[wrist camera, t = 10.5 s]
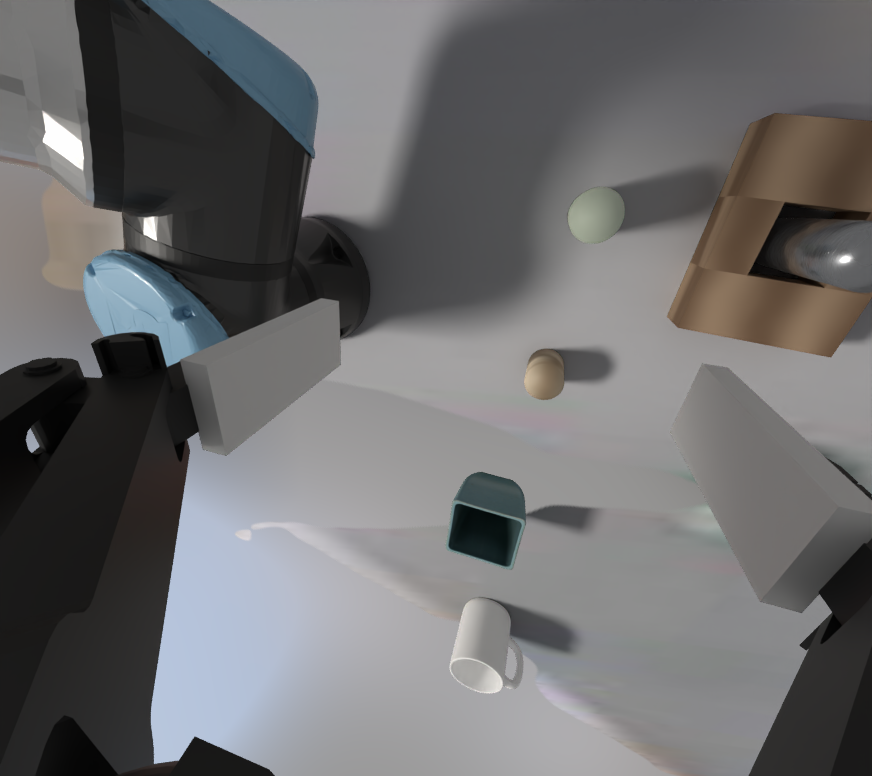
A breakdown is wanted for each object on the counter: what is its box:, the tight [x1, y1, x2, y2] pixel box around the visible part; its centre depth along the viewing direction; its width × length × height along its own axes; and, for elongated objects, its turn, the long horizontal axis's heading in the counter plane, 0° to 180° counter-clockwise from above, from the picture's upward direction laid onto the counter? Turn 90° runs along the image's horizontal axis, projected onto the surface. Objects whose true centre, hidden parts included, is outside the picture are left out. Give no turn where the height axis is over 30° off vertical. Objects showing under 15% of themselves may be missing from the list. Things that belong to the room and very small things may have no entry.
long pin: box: [755, 217, 872, 293], centre depth 27 cm, size 4×4×12 cm
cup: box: [450, 598, 523, 693], centre depth 60 cm, size 8×12×10 cm
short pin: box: [524, 349, 564, 400], centre depth 41 cm, size 4×4×5 cm
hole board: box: [667, 113, 872, 357], centre depth 31 cm, size 12×16×4 cm
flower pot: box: [446, 472, 526, 570], centre depth 49 cm, size 9×9×9 cm
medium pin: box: [568, 187, 625, 244], centre depth 32 cm, size 4×4×8 cm
